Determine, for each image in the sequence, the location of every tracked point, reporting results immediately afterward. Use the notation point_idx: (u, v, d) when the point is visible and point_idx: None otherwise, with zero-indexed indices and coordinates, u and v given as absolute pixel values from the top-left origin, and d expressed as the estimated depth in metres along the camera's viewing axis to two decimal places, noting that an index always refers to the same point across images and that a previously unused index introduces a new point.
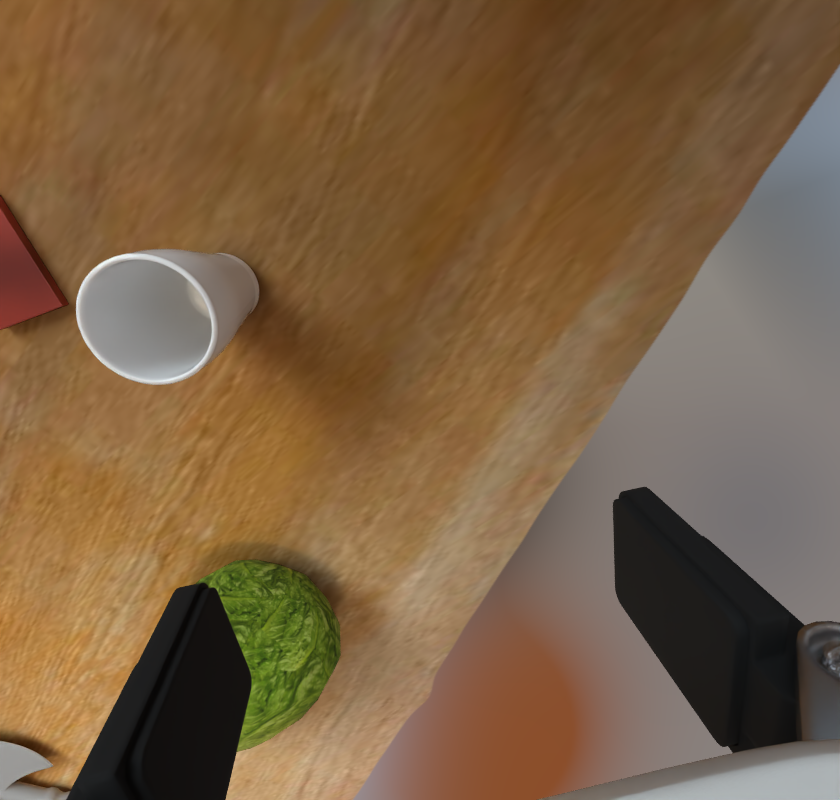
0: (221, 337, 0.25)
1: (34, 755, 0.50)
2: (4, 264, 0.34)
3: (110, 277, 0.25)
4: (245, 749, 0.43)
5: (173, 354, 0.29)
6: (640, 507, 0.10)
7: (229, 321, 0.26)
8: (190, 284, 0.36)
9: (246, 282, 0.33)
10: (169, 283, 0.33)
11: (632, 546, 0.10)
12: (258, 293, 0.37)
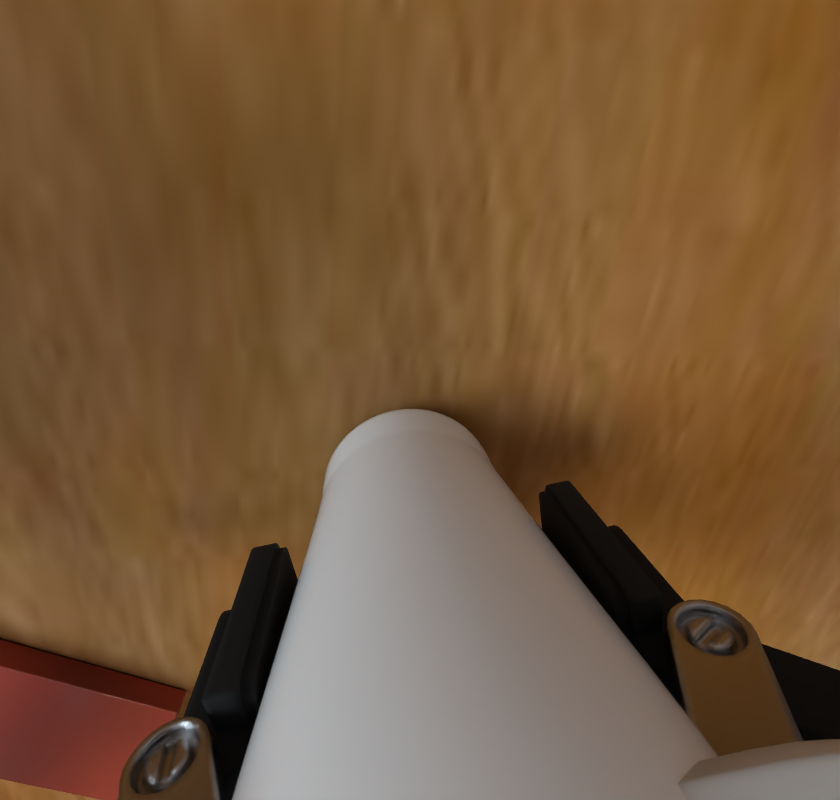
0: None
1: None
2: (40, 722, 0.16)
3: None
4: None
5: None
6: (558, 499, 0.11)
7: None
8: None
9: (497, 487, 0.10)
10: None
11: (553, 536, 0.11)
12: (483, 449, 0.14)
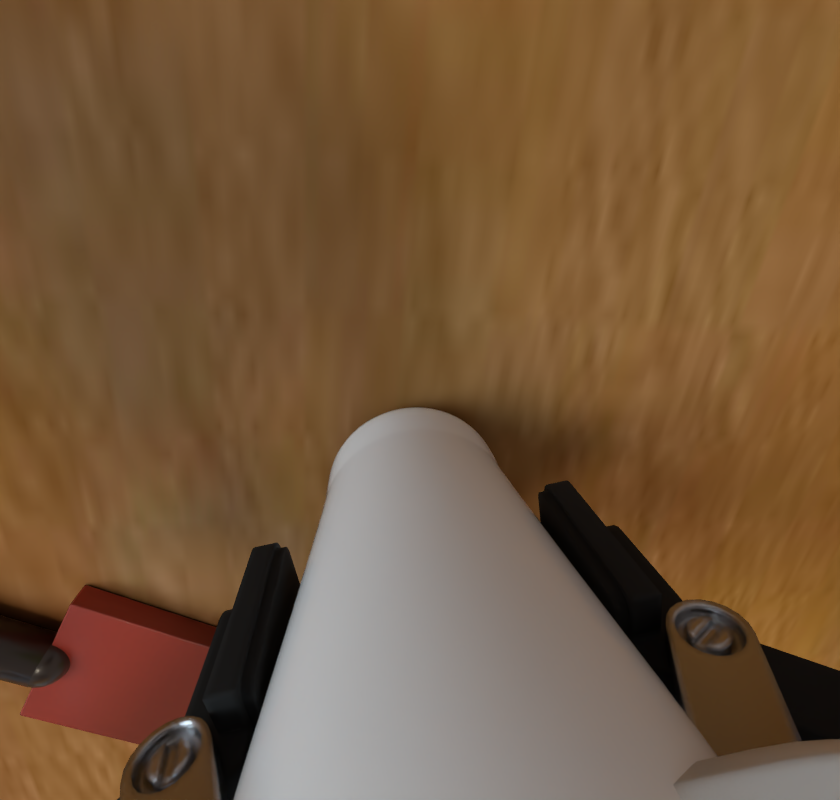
0: None
1: None
2: (184, 687, 0.17)
3: None
4: None
5: None
6: (557, 499, 0.11)
7: None
8: None
9: (502, 488, 0.10)
10: None
11: (552, 536, 0.11)
12: None
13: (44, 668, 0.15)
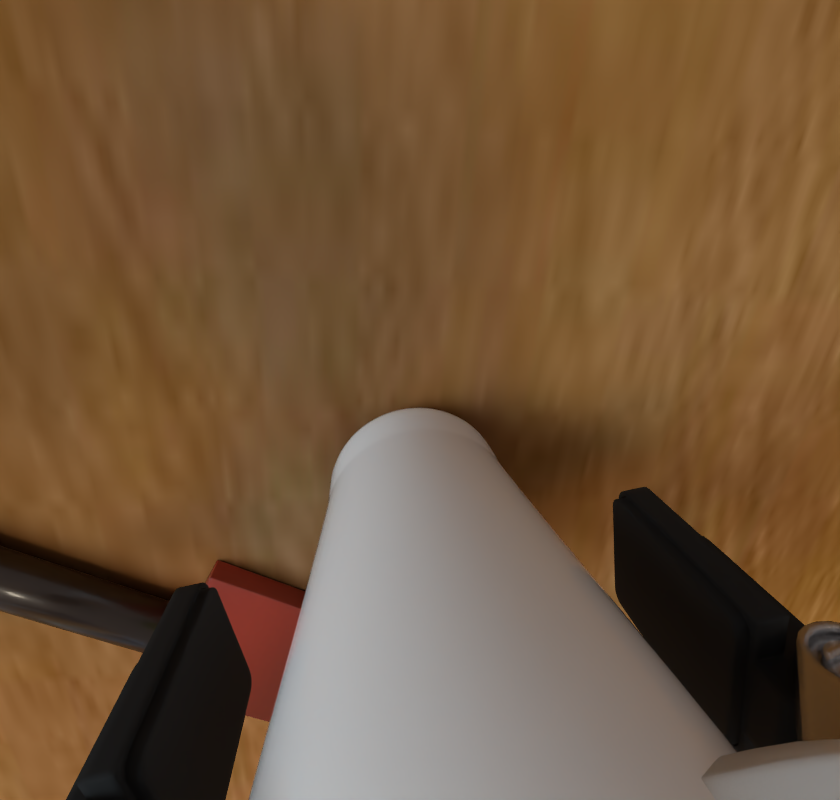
0: None
1: None
2: None
3: None
4: None
5: None
6: (640, 507, 0.10)
7: None
8: None
9: (507, 486, 0.10)
10: None
11: (632, 546, 0.10)
12: None
13: None
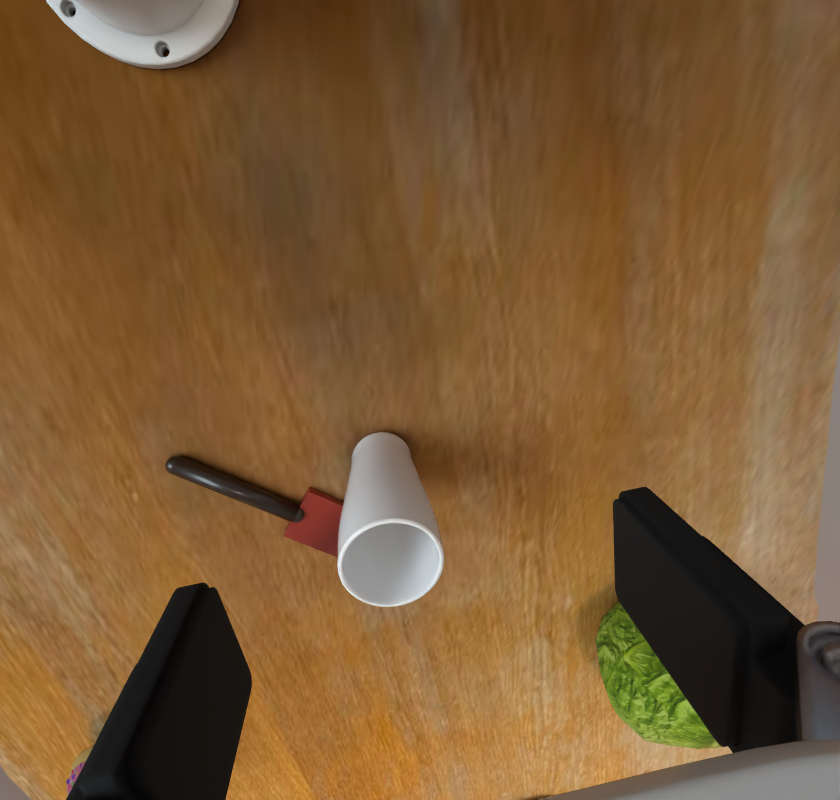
0: (439, 535, 0.30)
1: None
2: None
3: None
4: None
5: (403, 551, 0.35)
6: (640, 507, 0.10)
7: (432, 516, 0.31)
8: None
9: (402, 456, 0.38)
10: None
11: (632, 546, 0.10)
12: (407, 446, 0.42)
13: (299, 514, 0.43)
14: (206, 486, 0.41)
